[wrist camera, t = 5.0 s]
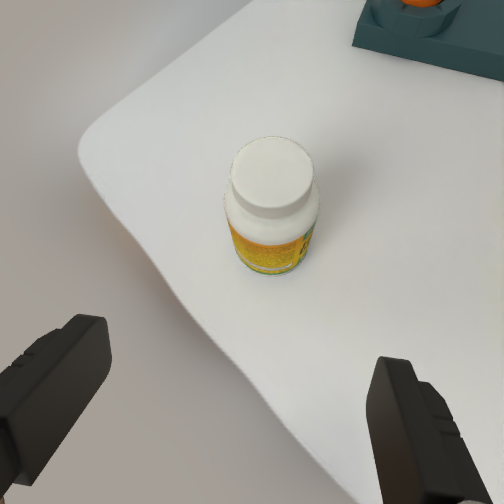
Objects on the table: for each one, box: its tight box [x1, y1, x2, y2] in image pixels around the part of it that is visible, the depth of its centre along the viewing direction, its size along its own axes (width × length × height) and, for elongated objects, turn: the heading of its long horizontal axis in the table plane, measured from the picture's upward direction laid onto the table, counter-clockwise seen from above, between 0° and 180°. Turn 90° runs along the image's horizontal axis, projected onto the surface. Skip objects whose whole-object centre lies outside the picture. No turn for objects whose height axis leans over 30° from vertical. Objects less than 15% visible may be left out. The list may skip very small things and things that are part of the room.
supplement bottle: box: [224, 136, 320, 276], centre depth 21 cm, size 5×5×10 cm
